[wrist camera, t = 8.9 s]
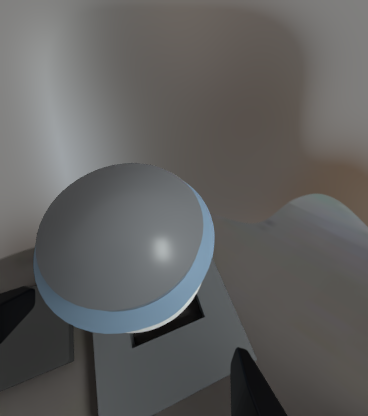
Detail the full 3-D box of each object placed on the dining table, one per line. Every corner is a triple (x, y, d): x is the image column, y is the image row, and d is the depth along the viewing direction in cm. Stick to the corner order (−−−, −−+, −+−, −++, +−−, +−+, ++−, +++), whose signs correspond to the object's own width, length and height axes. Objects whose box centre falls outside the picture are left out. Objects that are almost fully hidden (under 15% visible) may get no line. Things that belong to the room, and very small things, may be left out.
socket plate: (107, 430, 13) (100, 442, 11) (93, 268, 19) (87, 264, 17) (250, 356, 15) (257, 359, 14) (198, 235, 21) (200, 229, 20)
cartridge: (166, 336, 16) (135, 423, 3) (124, 302, 17) (-40, 246, 4) (195, 286, 18) (252, 198, 5) (156, 259, 19) (120, 133, 6)
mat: (-28, 403, 13) (-40, 407, 12) (-9, 302, 16) (-17, 301, 16) (73, 360, 15) (69, 362, 14) (71, 276, 18) (67, 275, 17)
